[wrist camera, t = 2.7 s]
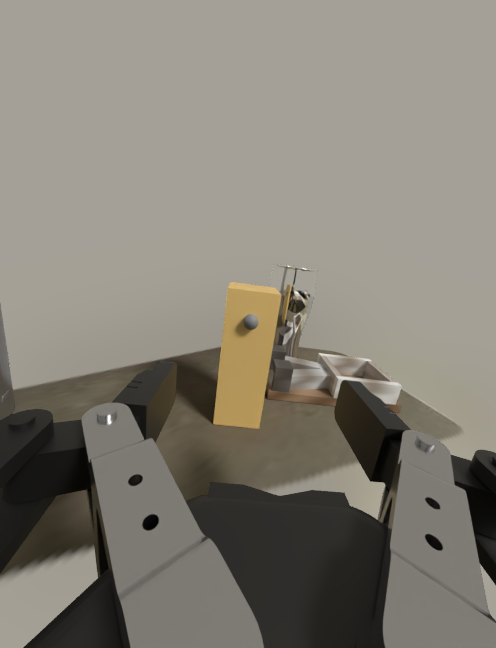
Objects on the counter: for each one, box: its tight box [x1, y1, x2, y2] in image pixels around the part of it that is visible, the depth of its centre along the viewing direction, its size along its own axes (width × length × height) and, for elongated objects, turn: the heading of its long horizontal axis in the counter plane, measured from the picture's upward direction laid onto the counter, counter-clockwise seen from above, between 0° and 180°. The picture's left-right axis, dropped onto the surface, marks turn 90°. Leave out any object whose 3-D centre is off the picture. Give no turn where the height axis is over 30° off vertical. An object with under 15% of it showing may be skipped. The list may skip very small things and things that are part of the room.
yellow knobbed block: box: [213, 282, 282, 429], centre depth 23 cm, size 4×6×13 cm
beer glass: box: [269, 264, 318, 358], centre depth 38 cm, size 7×7×15 cm
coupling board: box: [266, 345, 402, 413], centre depth 32 cm, size 16×8×4 cm, turn 91°
